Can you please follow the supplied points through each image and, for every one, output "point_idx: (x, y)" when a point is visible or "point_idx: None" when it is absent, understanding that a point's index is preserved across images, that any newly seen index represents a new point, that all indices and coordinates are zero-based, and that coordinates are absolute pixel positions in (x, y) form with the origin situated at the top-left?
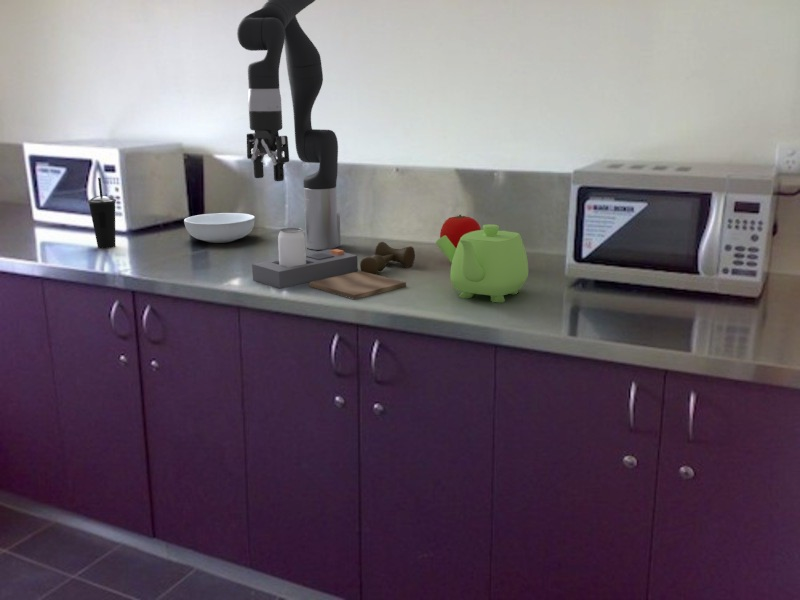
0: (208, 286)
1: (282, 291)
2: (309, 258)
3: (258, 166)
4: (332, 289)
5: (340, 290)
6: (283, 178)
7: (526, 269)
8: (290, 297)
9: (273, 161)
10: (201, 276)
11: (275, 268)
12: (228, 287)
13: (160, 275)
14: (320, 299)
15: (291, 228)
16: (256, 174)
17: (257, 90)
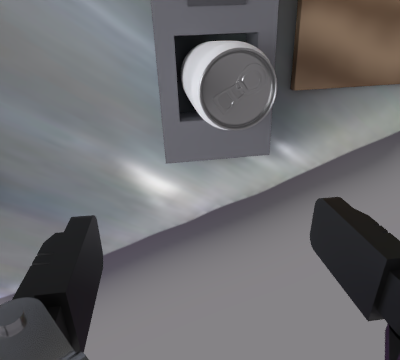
0: (153, 231)
1: (277, 149)
2: (211, 12)
3: (82, 301)
4: (367, 85)
5: (387, 80)
6: (341, 199)
7: None
8: (318, 159)
9: (398, 350)
10: (67, 213)
11: (240, 145)
12: (183, 208)
13: (12, 265)
14: (369, 126)
15: (208, 68)
16: (99, 274)
17: None
